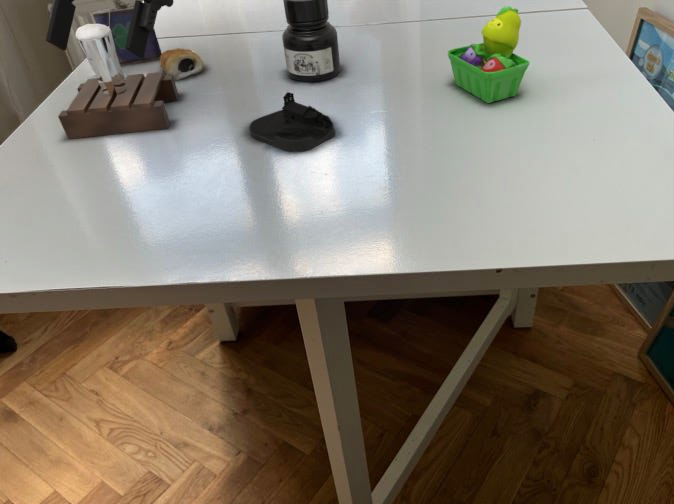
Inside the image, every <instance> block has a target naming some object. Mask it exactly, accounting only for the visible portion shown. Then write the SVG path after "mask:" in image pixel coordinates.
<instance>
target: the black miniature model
mask: <svg viewBox="0 0 674 504" xmlns="http://www.w3.org/2000/svg"><path fill="white" fill-rule="evenodd" d="M294 95H295V94H294V93H292V92H289V91H287V92H286V93H285V94H284V95H283V97H282V98H283V105H282V107H281V110H277V111H274V112H271V113H269V114H265V115H263V116H261V117H258V118H256V119H254V120H253V121H251V122H250V124H249V127H248V129H249V134H250V136H251V138H253V139H255V140H257V141H260V142H263V143H265V144H268V145H270V146H272V147H274V148H278V149H280V150H281V151H285V152H293V153H297V152H299V153H301V152H306V151H309V150H311V149H313V148H315V147H317V146H319V145H321V144H322V143H324V142H326V141H328V140H329V139H332V138H333V137H335V135H336V130H335V127H334V123H333V121H332V119H331V118H330V117H329V115H326V114H324V113H323V112H320V111H319V110H318V109H315V107H313V106H312V105H311V106H310V105H305V104H302V103H299V102H297V101H296V100H295V97H294Z"/></svg>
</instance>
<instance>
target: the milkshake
mask: <svg viewBox="0 0 674 504" xmlns="http://www.w3.org/2000/svg"><path fill="white" fill-rule="evenodd" d="M109 26H110V12H108V27H107V26H105V25H102V24H96V23H86V24H84V25H82V26H79V27H78V28H77V29H76V30H75V38H76V41H77V42H78V44H79V46H80V48H81V50H82V52H83V53H84V55H85V57H86V59H87V61H88V63H89V65H90V67H91V69H92V71H93V73H94V76H95V78H97V80H98V82H99V84H100V86H101V88H102V90H103V92H104V94H106V95H115V94H119V93H122V92H124V91H125V90H126V85H125V82H124V78H125V77H124V78H123V76H124V75H123V72H122V68H121V65H120V64H119V60H118V57H117V53H116V49H115V45H114V41H113V37H112V33H111V29H110V28H109Z"/></svg>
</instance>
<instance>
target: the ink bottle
mask: <svg viewBox="0 0 674 504" xmlns="http://www.w3.org/2000/svg"><path fill="white" fill-rule="evenodd" d="M282 2H283V8H284V13H285V21H286V23H287V24H288V25H287V26H286V28H285V29H284V30H283V32H282V36H281V38H282V48H283V55H284V59H285V66H286V69H287V70H286V71H287V74H288V76H289V77H290V78H291V79H293V80H296V81H301V82H321V81H325V80H329V79H331V78H333V77H335V76H336V75H338V74H339V72H340V70H341V61H340V49H339V39H338V32H337V29H336V28H335V26H334V25H332V24H331V23H330V22H329V21H328V20H329V19H330V16H329V14H330V13H329V5H328V0H282Z"/></svg>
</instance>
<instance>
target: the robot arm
mask: <svg viewBox="0 0 674 504" xmlns="http://www.w3.org/2000/svg"><path fill="white" fill-rule="evenodd" d="M74 1H75V0H52V2H51V7H50V11H49V15H48V16H49V20H50V21H49V23H48V24H49V25H48V29H47V33H46V38H45V41H46V42H47V43H49V44H51V45H52V46H54V47H55V48H58V49H59V50H61V51H67V47H68V43H69V39H70V35H71V30H72V25H73V21H74V17H75V12H76V8H77V6H76V5H75V4H74V3H73V2H74ZM134 3H135V5H134V4H133V5H134V9H133V14H132V18H131V23H130V27H129V31H128V36H127V40H126V45H125V48H126V49H127V50H129V51H130V52H132V53H133V54H135V55H136V56H138V57H139V58H144V54H145V49H146V45H147V40H148V36H149V32H152V30H153V29H154V30H155V24H156V20H157V15H158V12H160V10H161V8H162V7H167V8H171V7H172V6H173V5H174V0H135V2H134Z"/></svg>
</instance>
